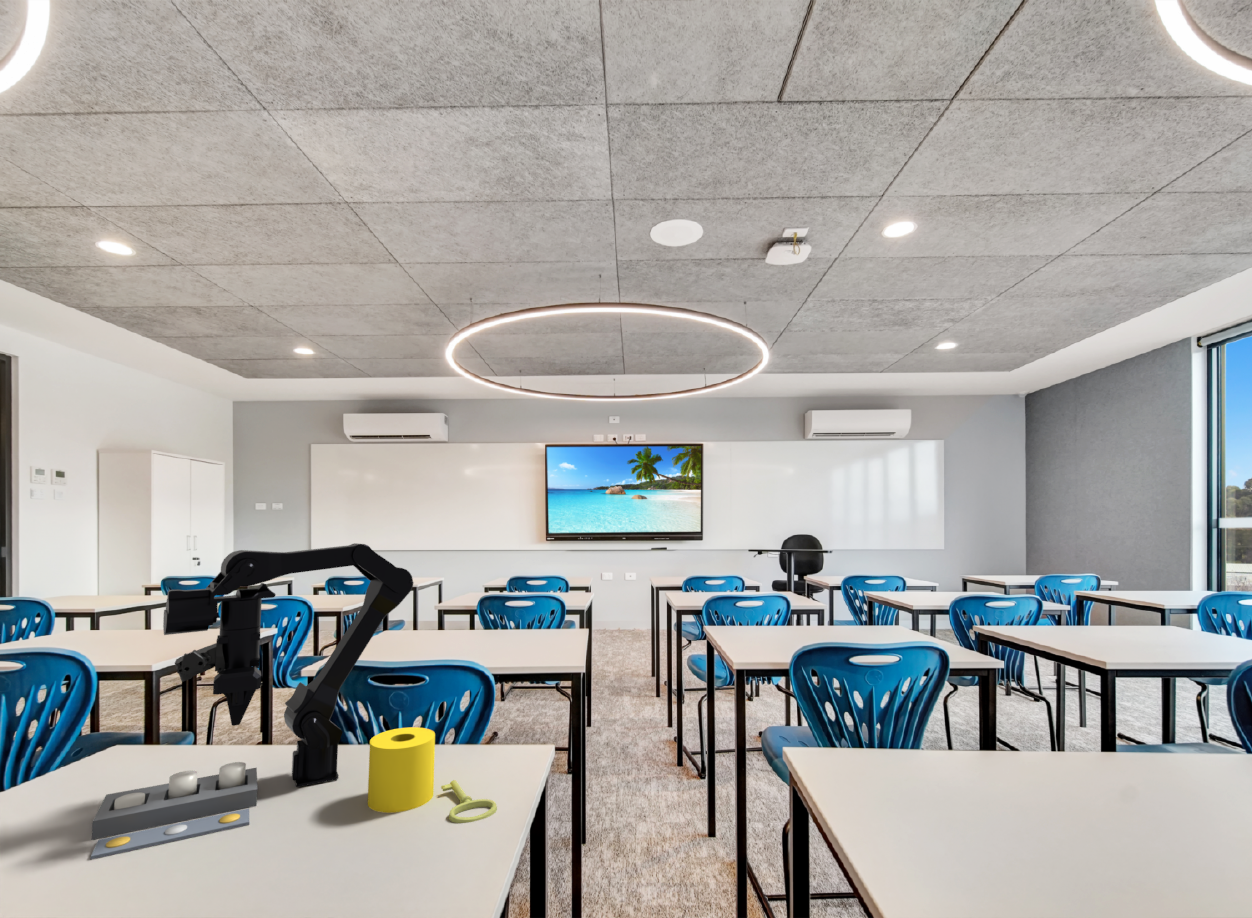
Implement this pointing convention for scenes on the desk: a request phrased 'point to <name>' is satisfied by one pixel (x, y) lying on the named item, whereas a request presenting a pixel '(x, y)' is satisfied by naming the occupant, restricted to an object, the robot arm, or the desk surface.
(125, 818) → the button panel
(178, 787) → the button middle
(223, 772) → the button
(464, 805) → the key
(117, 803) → the button
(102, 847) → the pattern card
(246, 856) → the desk surface
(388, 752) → the yellow cylinder with hole
